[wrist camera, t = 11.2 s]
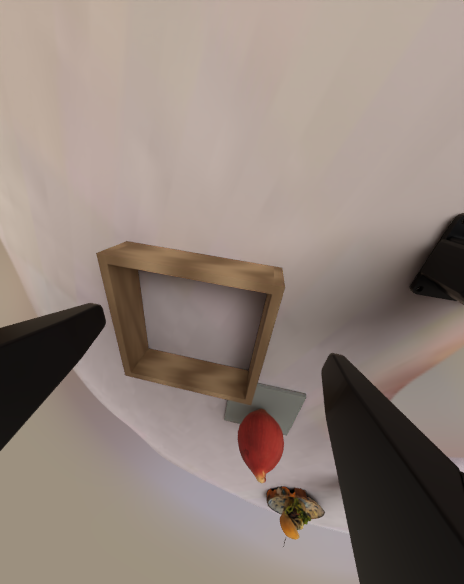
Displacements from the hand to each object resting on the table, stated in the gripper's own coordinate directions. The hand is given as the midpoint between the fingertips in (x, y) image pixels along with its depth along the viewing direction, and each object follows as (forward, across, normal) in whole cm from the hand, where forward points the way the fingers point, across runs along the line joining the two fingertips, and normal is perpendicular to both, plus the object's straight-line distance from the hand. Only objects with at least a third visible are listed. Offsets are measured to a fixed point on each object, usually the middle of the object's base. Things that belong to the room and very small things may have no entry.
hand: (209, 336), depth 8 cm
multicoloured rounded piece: (+12, -19, +53) cm, 58 cm away
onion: (+12, -6, +23) cm, 26 cm away
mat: (+12, -6, +23) cm, 27 cm away
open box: (+12, +4, +9) cm, 16 cm away
